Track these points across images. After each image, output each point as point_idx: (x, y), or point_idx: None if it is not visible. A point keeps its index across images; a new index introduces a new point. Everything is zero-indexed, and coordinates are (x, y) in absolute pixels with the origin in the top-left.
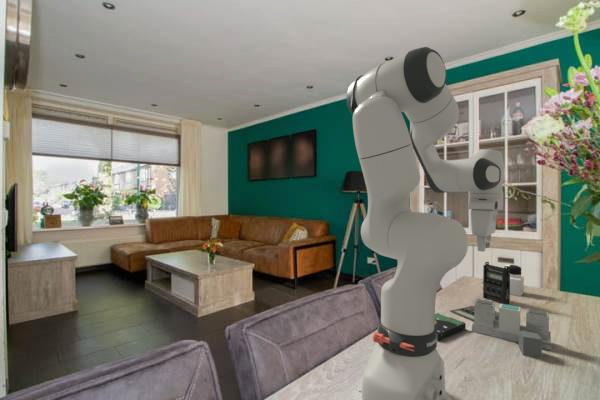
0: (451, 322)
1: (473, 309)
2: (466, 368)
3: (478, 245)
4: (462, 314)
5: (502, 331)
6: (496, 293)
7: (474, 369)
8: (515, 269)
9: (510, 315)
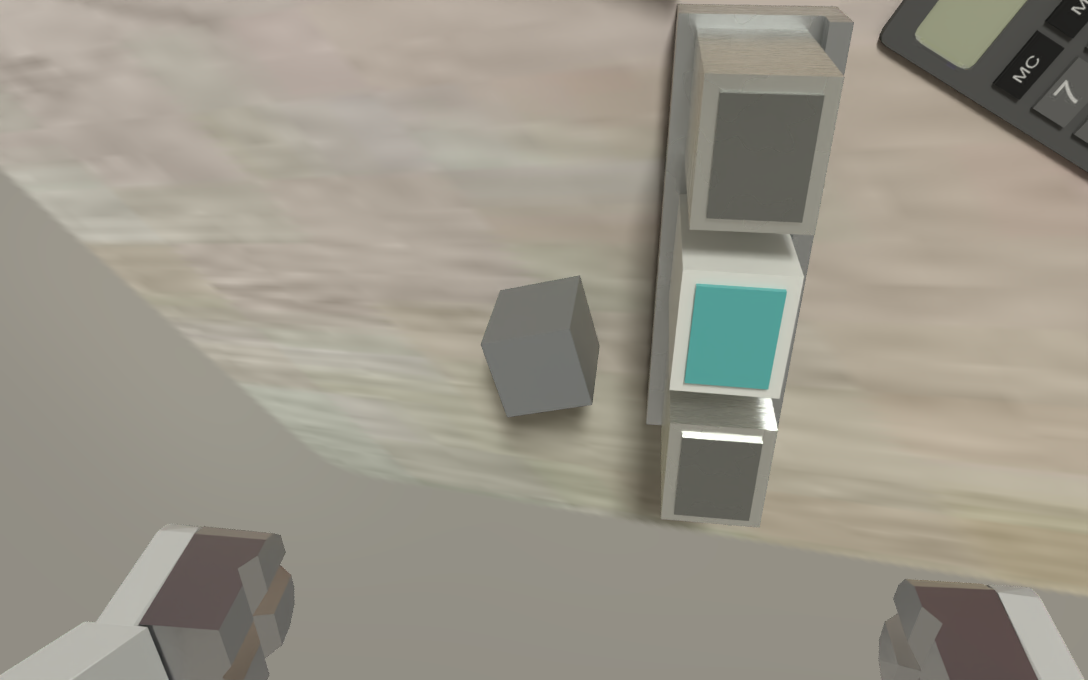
0: None
1: None
2: (120, 54)
3: (110, 620)
4: None
5: (671, 214)
6: None
7: (146, 92)
8: None
9: (674, 315)
